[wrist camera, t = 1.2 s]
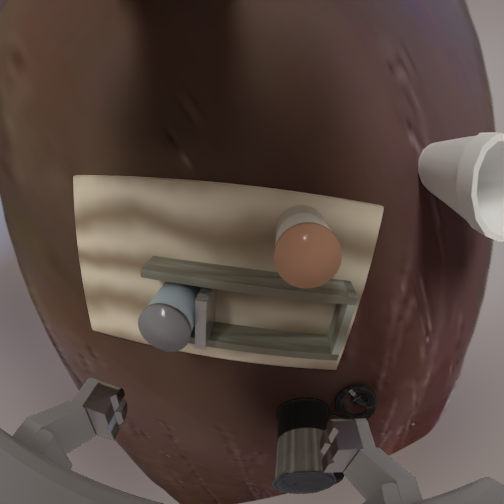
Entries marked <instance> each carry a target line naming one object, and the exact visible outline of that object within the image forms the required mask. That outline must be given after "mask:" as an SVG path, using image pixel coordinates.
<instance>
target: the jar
mask: <svg viewBox="0 0 504 504" xmlns="http://www.w3.org/2000/svg"><path fill="white" fill-rule="evenodd" d="M341 260H342V251H341V246H340V244H339V242H338V240H337V238H336V236H335V235H334V234H333V233H332V231H331V230H330V228H329V226H328V225H327V223H326V221H325V220H324V218H323V216H322V215H321V214H320V212H318V211H317V210H316V209H314V208H312V207H310V206H306V205H297V206H293V207H290V208H288V209H287V210H285V211H284V212H283V213H282V214H281V216H280V217H279V219H278V221H277V224H276V243H275V250H274V263H275V267H276V270H277V272H278V274H279V275H280V276H281V277H282V279H283V280H285V281H286V282H287V283H289V284H290V285H293V286H295V287H298V288H315V287H318V286H321V285H323V284H325V283H327V282H328V281H329V280H331V279H332V278H333V277H334V275H335V274H336V273H337V271H338V269H339V267H340V264H341Z"/></svg>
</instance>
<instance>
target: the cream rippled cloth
mask: <svg viewBox="0 0 504 504" xmlns="http://www.w3.org/2000/svg"><path fill="white" fill-rule="evenodd" d="M73 185H74V208H75V223H76V234H77V244H78V252H79V260H80V267H81V274H82V280H83V286H84V292H85V297H86V302H87V307H88V312H89V317H90V321H91V326H92V330H95V331H98V332H102V333H105V334H109V335H113V336H116V337H120V338H124V339H128V340H132V341H136V342H140V343H145V344H149V343H148V342H147V341H146V340H145V339H144V338H143V336H142V335H141V333H140V331H139V328H138V318H139V316H140V314H141V313H142V311H143V310H144V309H145V308H146V307H147V306H148V304H149V303H150V302H151V300H152V299H153V297H154V296H155V295H156V293H157V292H158V291H159V289H160V288H161V286H162V285H163V284H164V282H165V281H166V282H173V283H179V284H185V285H192V286H198V287H205V288H212V289H217V294H216V314H215V322H214V325H213V328H212V331H211V334H210V337H209V340H208V344H207V347H206V350H205V349H199V348H195V325H194V328H193V330H192V332H191V337H190V339H189V342H188V344H187V345H186V346H185V347H184V348H183V349H181V350H179V351H182V352H187V353H193V354H198V355H204V356H210V357H216V358H222V359H229V360H236V361H243V362H251V363H259V364H267V365H277V366H287V367H298V368H311V369H327V370H336V369H337V366H338V364H339V361H340V358H341V356H342V353H343V350H344V347H345V345H346V342H347V339H348V336H349V333H350V330H351V328H352V325H353V322H354V319H355V315H356V312H357V309H358V306H359V303H360V300H361V296H362V293H363V290H364V286H365V283H366V279H367V276H368V272H369V269H370V265H371V261H372V257H373V253H374V249H375V245H376V241H377V237H378V233H379V229H380V224H381V220H382V215H383V210H384V207H383V206H381V205H376V204H371V203H365V202H360V201H354V200H348V199H342V198H336V197H330V196H324V195H317V194H311V193H304V192H297V191H290V190H282V189H274V188H266V187H258V186H249V185H240V184H230V183H220V182H209V181H198V180H185V179H171V178H154V177H135V176H106V175H76V176H73ZM297 205H306V206H310V207H312V208H314V209H316V210H317V211H318V212H320V214H321V215H322V216H323V218H324V220H325V221H326V223H327V225H328V226H329V228H330V230H331V231H332V233H333V234H334V235H335V236H336V238H337V240H338V242H339V244H340V246H341V251H342V260H341V264H340V267H339V269H338V271H337V273H336V274H335V275H334V277H333V278H332V279H331V280H329V281H328V282H327V283H325V284H323V285H321V286H318V287H315V288H298V287H295V286H293V285H290V284H289V283H287V282H286V281H285V280H283V279H282V277H281V276H280V275H279V274H278V272H277V270H276V267H275V263H274V250H275V243H276V224H277V221H278V219H279V217H280V216H281V214H282V213H283V212H284V211H285V210H287V209H288V208H290V207H293V206H297ZM149 345H151V344H149Z"/></svg>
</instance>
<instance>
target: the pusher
mask: <svg viewBox="0 0 504 504" xmlns="http://www.w3.org/2000/svg"><path fill="white" fill-rule="evenodd" d="M216 294H217V289H212V288H205V287H201V289H200V291H199V293H198V295H197V297H196V299H195V348H199V349H205V350H206V347H207V344H208V340H209V337H210V334H211V331H212V328H213V325H214V322H215V314H216Z"/></svg>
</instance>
